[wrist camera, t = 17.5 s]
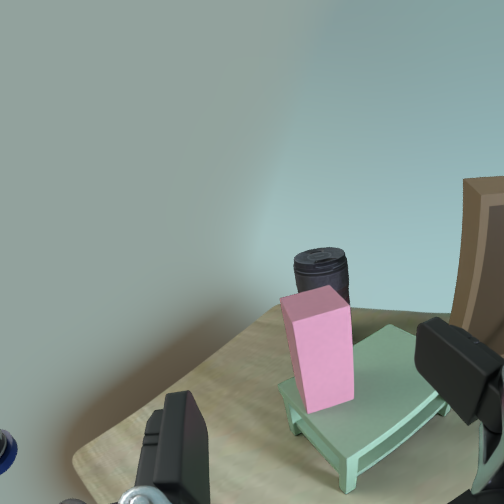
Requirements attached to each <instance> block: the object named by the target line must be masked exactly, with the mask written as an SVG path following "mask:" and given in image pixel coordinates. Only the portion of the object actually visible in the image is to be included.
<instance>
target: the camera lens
mask: <svg viewBox="0 0 504 504" xmlns="http://www.w3.org/2000/svg"><path fill="white" fill-rule="evenodd" d="M294 273H295V279H296V285H297V289H298V293H301V292H305V291H309V290H313V289H316V288H320V287H323V286H327V285H330V286H331V287H332V288H333V289H334V290H335V291H336V292H337V293H338V294H339V295H340V296H341V297H342V298H343V299H344V300H345V301H346V302H347V303H348V304H349V305H350V300H349V288H348V286H349V275H348V264H347V258H346V257H345V252H344V251H343V250H342V249H339V248H332V247H326V248H317V249H311V250H307V251H305V252H302V253H299V254H298V255H296V256H295V257H294ZM350 313H351V308H350Z"/></svg>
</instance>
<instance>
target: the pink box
mask: <svg viewBox="0 0 504 504" xmlns="http://www.w3.org/2000/svg"><path fill="white" fill-rule="evenodd" d="M280 303H281V308H282V313H283V318H284V323H285V328H286V334H287V339H288V344H289V349H290V354H291V360H292V365H293V370H294V376H295V381H296V386H297V388H298V391H299V393H300V396H301V399H302V401H303V404H304V407H305V409H306V412H307V414H310V413H313V412H316V411H320V410H323V409H326V408H329V407H332V406H335V405H338V404H341V403H344V402H347V401H350V400H352V399H354V368H353V344H352V327H351V313H350V305H349V304H348V303H347V302H346V301H345V300H344V299H343V298H342V297H341V296H340V295H339V294H338V293H337V292H336V291H335V290H334V289H333V288H332V287H331V286H330V285H327V286H323V287H320V288H316V289H313V290H309V291H305V292H301V293H298V294H294V295H290V296H286V297H283V298H280Z"/></svg>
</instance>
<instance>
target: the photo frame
mask: <svg viewBox="0 0 504 504" xmlns="http://www.w3.org/2000/svg"><path fill="white" fill-rule="evenodd" d="M450 324H451V325H454V326H457V327H460V328H463V329H464V330H466V331H467V332H469V333H470V334H471V335H472V337H476V338H477V339H478V340H480V342H482V343H484V344H485V345H486V346H488V347H489V348H491V349H492V350H493V351H495V352H496V353H497V354H499V355H500V356H501V357H503V358H504V176H496V177H480V178H467V179H463V221H462V237H461V249H460V258H459V267H458V276H457V282H456V288H455V294H454V300H453V306H452V311H451V316H450V320H449V325H450Z"/></svg>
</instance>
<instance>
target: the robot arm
mask: <svg viewBox="0 0 504 504" xmlns="http://www.w3.org/2000/svg"><path fill="white" fill-rule="evenodd" d="M414 363H415V367H416V369H417V371H418V372H419V374H420V375H421V376H422V377H423V378H424V379H425V380H426V381H427V382H428V383H429V384H430V385H431V386H432V387H433V388H434V389H435V391H436V392H437V393H438V394H439V395H440V396H441V397H442V398H443V399H444V400H445V401H446V402H447V403H448V405H449V406H450V407H451V408H452V409H453V410H454V411H455V412H456V413H457V414H458V415H459V417H460V418H461V419H462V420H463V421H464V422H465V423H466V424H467V425H468V426H469V425H470V424H471V423H473V422H474V421H476V420H477V419H479V420H480V421H481V424H480V427H479V457H478V470H477V474H476V477H475V479H474V482H473V485H472V488H471V491H470V489H468V490H467V491H465V492H464V493H463V494H461V495H460V496H458V497H457V498H455V499H454V500H452V501H451V502H449V503H447V504H504V358H503V357H501V356H500V355H499V354H497V353H496V352H495V351H493V350H492V349H491V348H489V347H488V346H486V345H485V344H484V343H482V342H480V340H478V339H477V338H476V337H472V335H471V334H470V333H469V332H467V331H466V330H464V329H463V328H460V327H457V326H454V325H451V324H450V325H449V324H447V323H446V322H445V321H443V320H442V319H440V318H439V317H434V318H432V319H430V320H428V321H425V322H423V323H421V324H419V325H418V327H417V333H416V344H415V354H414ZM144 434H145V436H144V438H143V443H142V444H143V447H142V448H141V454H140V459H139V464H138V470H137V475H136V481H135V485H134V487H133V488H131V489H129V490H127V491H126V492H125V493H123V495H122V496H121V497H120V499H119V501H118V502H116V503H112V504H210V485H209V451H208V431H207V427H206V423H205V421H204V418H203V416H202V414H201V412H200V410H199V408H198V406H197V404H196V402H195V400H194V397H193V395H192V393H191V392H190V391H189V390H188V391H181V392H175V393H168V394H166V397H165V403H164V409H161V410H155V411H154V412H153V414H152V415H151V417H150V418H149V419H148V421H147V424H146V429H145V433H144ZM7 445H8V441H7V438H6V436H5V435H4V434H3V433H2V431H1V430H0V459H1V458H2V456H3V455H4V453H5V452H6V449H7ZM59 504H86V503H85V502H83V501H81V500H79V499H67V500H64V501H62V502H61V503H59Z"/></svg>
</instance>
